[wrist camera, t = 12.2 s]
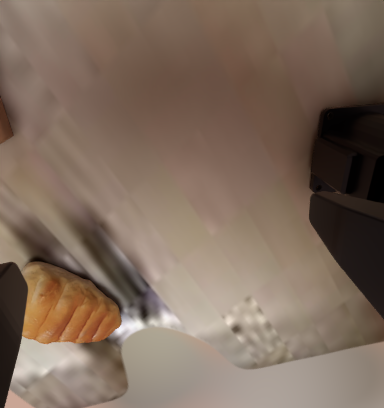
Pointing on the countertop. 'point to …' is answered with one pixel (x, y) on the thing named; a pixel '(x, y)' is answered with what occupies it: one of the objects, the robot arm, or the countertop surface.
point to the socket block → (4, 125)
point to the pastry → (65, 307)
